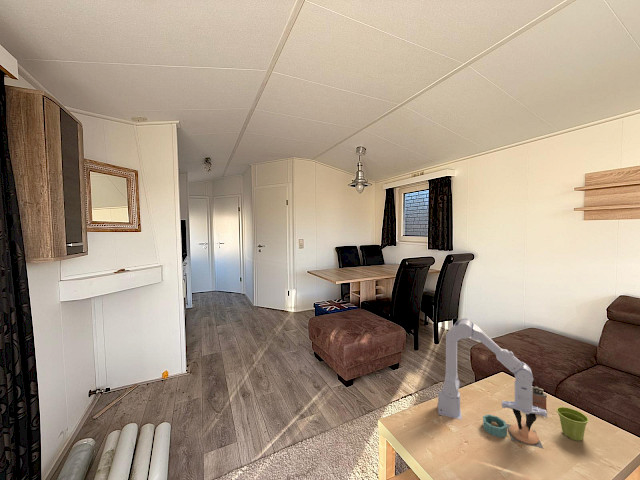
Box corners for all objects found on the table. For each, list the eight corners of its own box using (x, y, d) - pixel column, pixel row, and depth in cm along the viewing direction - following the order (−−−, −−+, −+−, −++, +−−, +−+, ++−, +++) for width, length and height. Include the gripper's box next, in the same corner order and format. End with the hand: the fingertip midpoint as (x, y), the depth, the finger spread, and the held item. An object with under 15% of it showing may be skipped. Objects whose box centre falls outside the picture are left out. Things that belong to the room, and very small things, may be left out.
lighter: (546, 408, 122) (546, 387, 122) (547, 413, 119) (547, 391, 119) (524, 403, 127) (524, 382, 127) (525, 407, 124) (525, 386, 124)
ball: (491, 430, 108) (490, 423, 108) (489, 426, 111) (489, 419, 111) (499, 433, 107) (499, 425, 107) (498, 428, 110) (498, 421, 110)
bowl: (484, 434, 107) (484, 424, 107) (482, 422, 114) (482, 412, 114) (508, 440, 104) (508, 430, 104) (504, 427, 111) (504, 418, 111)
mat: (511, 441, 103) (511, 440, 103) (506, 425, 112) (506, 423, 112) (543, 450, 99) (543, 448, 99) (535, 432, 108) (535, 430, 108)
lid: (512, 439, 103) (511, 427, 103) (506, 424, 112) (506, 412, 112) (542, 447, 99) (542, 435, 99) (534, 430, 108) (534, 419, 108)
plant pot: (563, 441, 103) (563, 419, 103) (552, 424, 112) (552, 404, 112) (594, 447, 100) (594, 424, 100) (580, 430, 109) (580, 409, 109)
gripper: (503, 396, 105) (504, 430, 105) (550, 406, 99) (550, 441, 99) (500, 387, 111) (500, 418, 111) (543, 395, 105) (543, 429, 105)
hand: (523, 428), depth 106 cm, fingers closed on lid
